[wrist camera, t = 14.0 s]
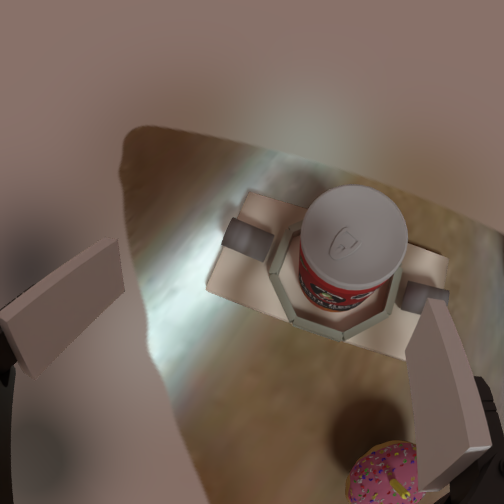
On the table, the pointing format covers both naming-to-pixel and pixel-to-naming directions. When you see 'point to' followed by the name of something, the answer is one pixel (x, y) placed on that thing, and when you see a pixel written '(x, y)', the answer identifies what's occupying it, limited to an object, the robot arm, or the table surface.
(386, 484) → the cupcake
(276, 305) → the plate
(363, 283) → the canned food
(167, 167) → the table surface
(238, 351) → the table surface
